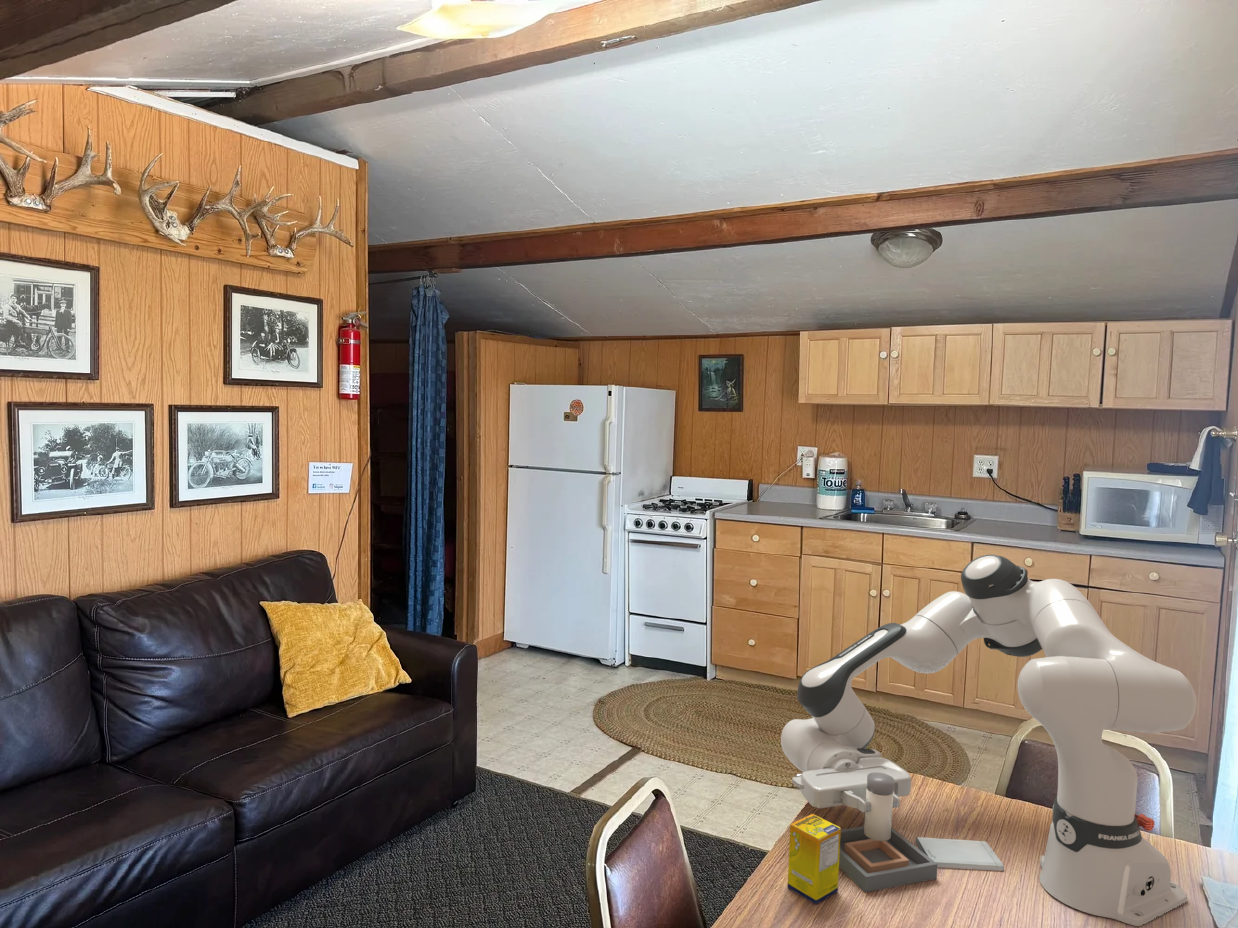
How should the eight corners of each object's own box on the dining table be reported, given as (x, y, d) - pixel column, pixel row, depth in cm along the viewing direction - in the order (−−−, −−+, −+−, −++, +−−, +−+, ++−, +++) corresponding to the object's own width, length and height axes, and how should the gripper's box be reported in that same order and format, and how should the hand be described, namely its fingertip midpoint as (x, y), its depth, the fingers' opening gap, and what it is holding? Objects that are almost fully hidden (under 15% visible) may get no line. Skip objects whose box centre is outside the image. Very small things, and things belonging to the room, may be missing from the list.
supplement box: (808, 875, 140) (812, 812, 139) (838, 892, 135) (842, 827, 134) (785, 887, 136) (789, 823, 135) (815, 905, 131) (819, 839, 131)
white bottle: (858, 829, 145) (862, 774, 144) (880, 825, 147) (883, 771, 146) (874, 842, 141) (877, 785, 140) (896, 838, 143) (899, 782, 142)
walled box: (884, 836, 153) (885, 822, 153) (936, 878, 140) (937, 864, 140) (818, 847, 149) (819, 833, 148) (865, 892, 135) (866, 877, 135)
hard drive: (930, 861, 143) (1004, 864, 143) (915, 835, 152) (985, 839, 151) (930, 870, 143) (1003, 873, 143) (915, 844, 152) (984, 848, 151)
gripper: (788, 760, 152) (830, 795, 139) (883, 748, 159) (932, 781, 146) (786, 793, 153) (828, 831, 140) (881, 780, 159) (929, 815, 146)
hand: (882, 805), depth 143 cm, fingers closed on white bottle, 4 cm apart
